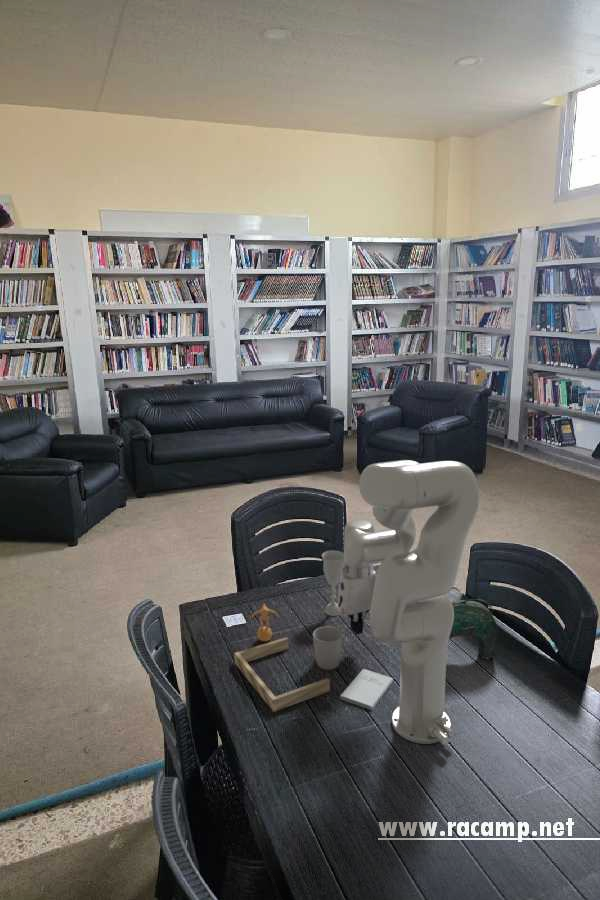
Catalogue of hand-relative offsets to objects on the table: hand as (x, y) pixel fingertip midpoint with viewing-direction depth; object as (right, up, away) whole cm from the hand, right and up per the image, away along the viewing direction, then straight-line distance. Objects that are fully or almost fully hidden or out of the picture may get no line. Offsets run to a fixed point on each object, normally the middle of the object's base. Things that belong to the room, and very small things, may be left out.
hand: (356, 631), depth 164 cm
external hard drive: (+1, -10, -16) cm, 19 cm away
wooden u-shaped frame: (-19, -8, -10) cm, 23 cm away
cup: (-8, -7, -4) cm, 11 cm away
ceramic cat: (+26, -6, -3) cm, 26 cm away
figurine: (-24, -5, +5) cm, 25 cm away
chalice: (-5, 0, +21) cm, 22 cm away
